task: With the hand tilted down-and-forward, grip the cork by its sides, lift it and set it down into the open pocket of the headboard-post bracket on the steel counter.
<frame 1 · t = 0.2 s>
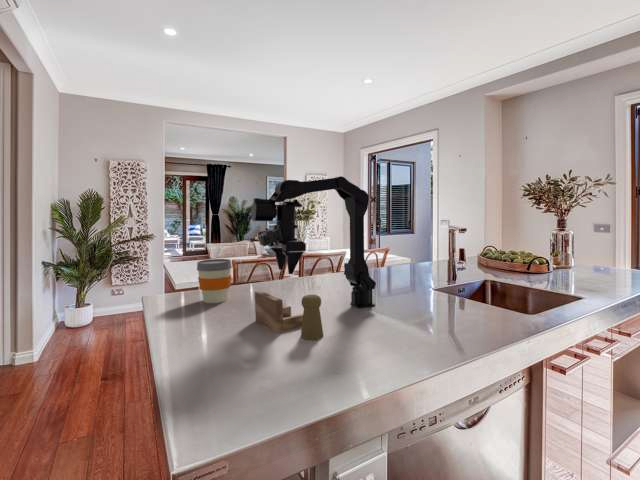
hand: (285, 271, 106), 14 cm above the counter, tool pointing down, fingers open, 9 cm apart
cork: (312, 336, 91), on the counter
reusable coffee cup: (216, 300, 130), on the counter
post bracket: (285, 322, 102), on the counter
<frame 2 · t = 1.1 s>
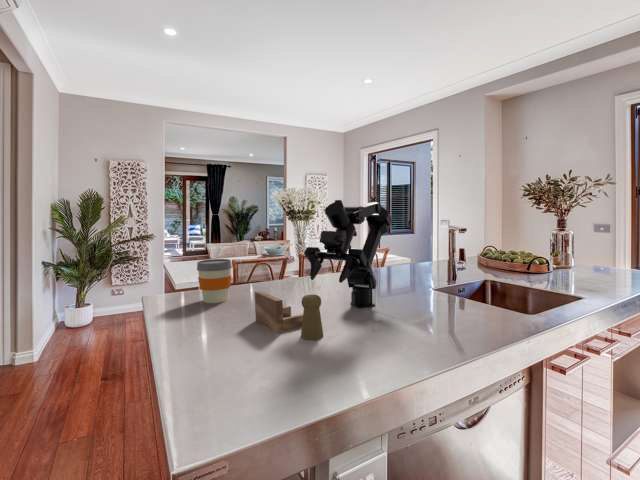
hand: (325, 280, 96), 13 cm above the counter, tool tilted 45°, fingers open, 9 cm apart
nothing on the counter moved.
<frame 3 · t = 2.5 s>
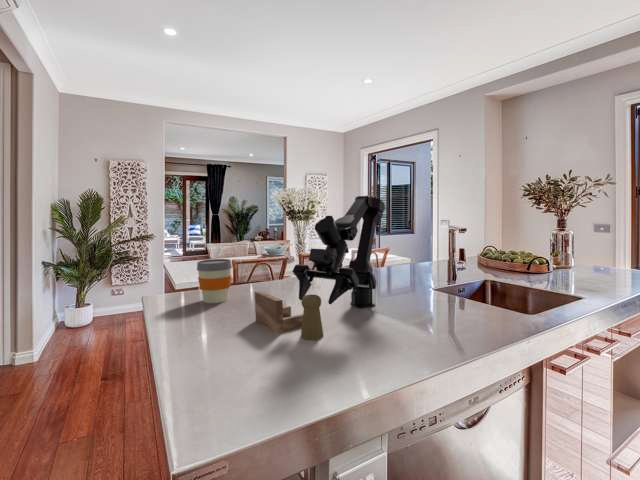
hand: (314, 301, 91), 9 cm above the counter, tool tilted 45°, fingers open, 9 cm apart
nothing on the counter moved.
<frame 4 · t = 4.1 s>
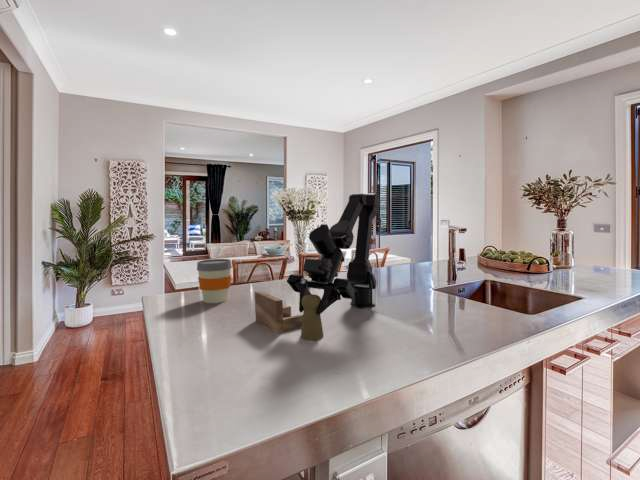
hand: (308, 313, 89), 7 cm above the counter, tool tilted 45°, fingers closed on cork, 5 cm apart
cork: (312, 336, 91), on the counter, touching gripper
everything else where it was.
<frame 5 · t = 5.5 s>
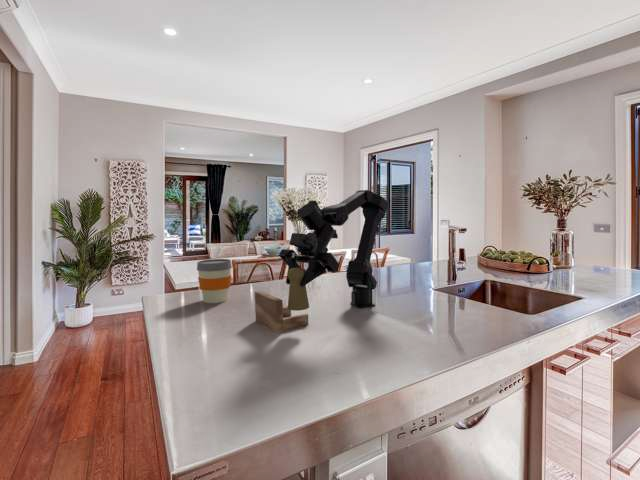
hand: (293, 284, 93), 13 cm above the counter, tool tilted 45°, fingers closed on cork, 5 cm apart
cork: (298, 308, 95), point 6 cm above the counter, touching gripper
everything else where it was.
when the fingers open (8 cm above the counter, at t = 7.3 s): cork drops 1 cm, resting in post bracket.
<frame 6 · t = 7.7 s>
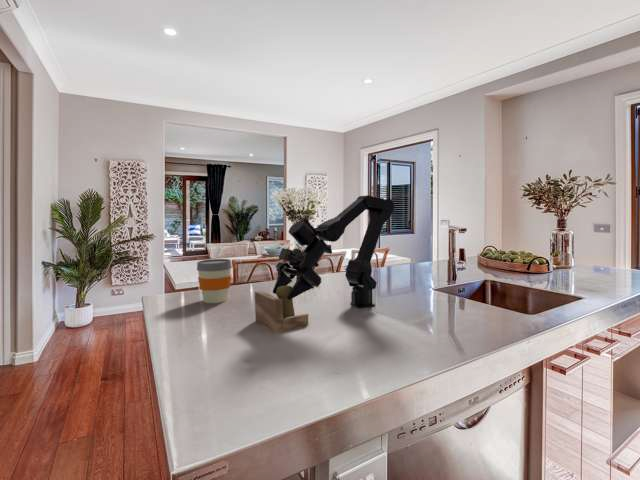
hand: (280, 295, 101), 8 cm above the counter, tool tilted 45°, fingers open, 9 cm apart
cork: (285, 322, 102), resting in post bracket
everything else where it was.
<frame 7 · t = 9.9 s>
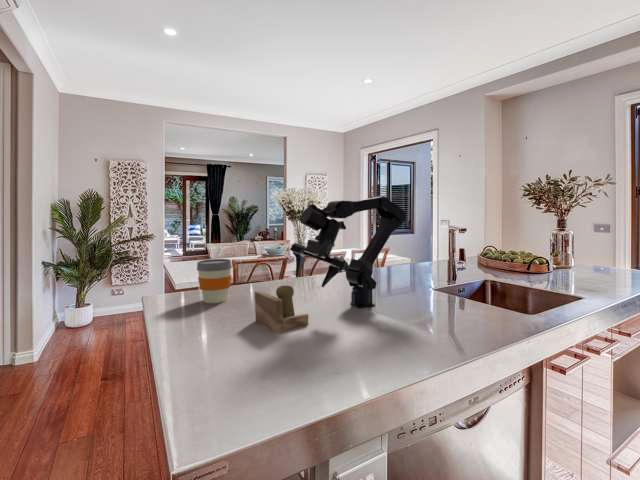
hand: (309, 282, 107), 11 cm above the counter, tool tilted 25°, fingers open, 9 cm apart
nothing on the counter moved.
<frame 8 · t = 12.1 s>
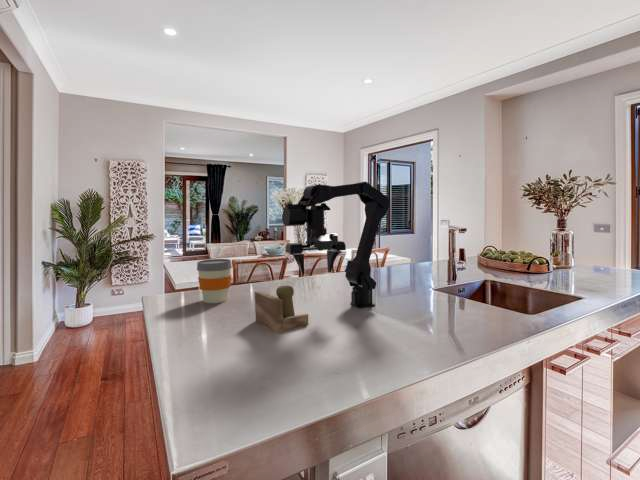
hand: (316, 273, 109), 13 cm above the counter, tool pointing down, fingers open, 9 cm apart
nothing on the counter moved.
at the end: cork inside the target area on the post bracket (0.1 cm from its centre), point 0.0 cm above the post bracket's base; cork tilted 0°; the gripper is holding nothing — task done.
